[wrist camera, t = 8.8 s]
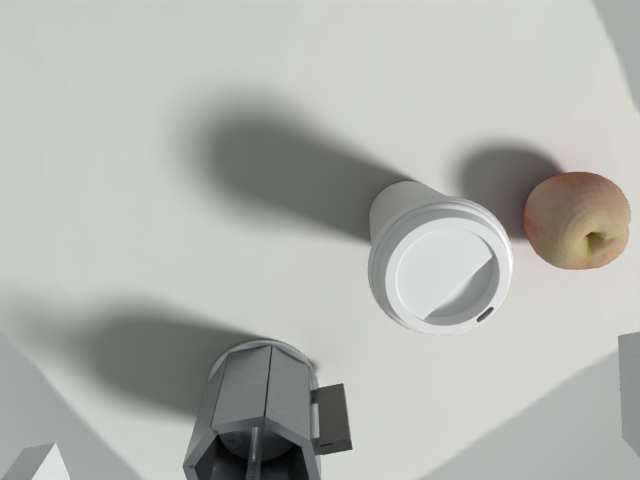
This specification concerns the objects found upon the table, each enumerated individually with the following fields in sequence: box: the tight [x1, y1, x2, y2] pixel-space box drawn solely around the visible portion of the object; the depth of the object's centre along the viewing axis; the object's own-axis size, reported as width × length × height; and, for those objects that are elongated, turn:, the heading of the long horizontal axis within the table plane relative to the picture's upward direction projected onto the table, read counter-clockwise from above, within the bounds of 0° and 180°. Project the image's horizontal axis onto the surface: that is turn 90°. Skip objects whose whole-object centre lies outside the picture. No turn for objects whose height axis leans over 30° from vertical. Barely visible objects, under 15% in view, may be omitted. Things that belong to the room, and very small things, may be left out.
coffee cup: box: [368, 181, 513, 336], centre depth 43 cm, size 10×10×15 cm
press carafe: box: [183, 339, 353, 480], centre depth 49 cm, size 11×13×12 cm
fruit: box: [523, 172, 631, 270], centre depth 46 cm, size 8×8×8 cm
